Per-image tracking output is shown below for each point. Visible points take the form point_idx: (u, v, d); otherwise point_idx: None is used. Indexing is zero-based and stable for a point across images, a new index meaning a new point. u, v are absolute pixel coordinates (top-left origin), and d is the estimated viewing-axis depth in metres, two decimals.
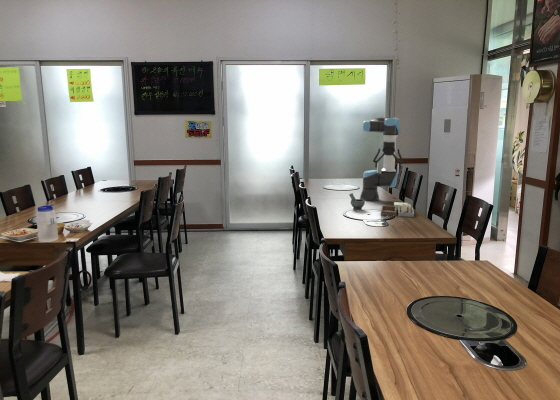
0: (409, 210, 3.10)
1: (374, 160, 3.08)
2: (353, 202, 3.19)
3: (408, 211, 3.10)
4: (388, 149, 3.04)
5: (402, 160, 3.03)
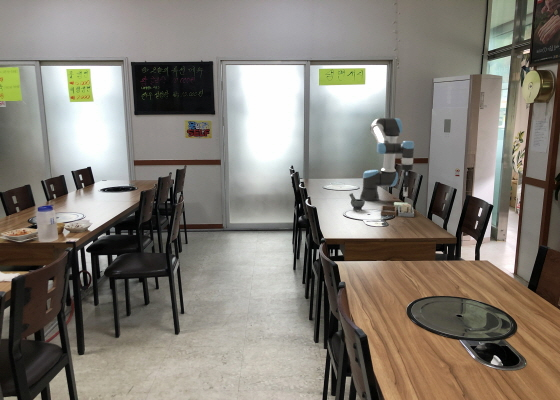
0: (409, 210, 3.10)
1: None
2: (353, 202, 3.19)
3: (408, 211, 3.10)
4: None
5: (404, 183, 3.01)
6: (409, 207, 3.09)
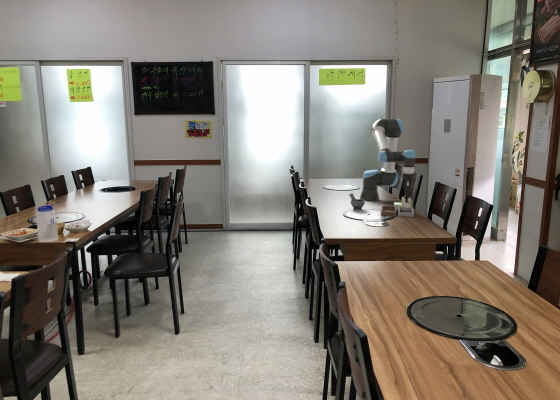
0: (409, 203, 3.09)
1: None
2: (353, 202, 3.19)
3: (408, 204, 3.09)
4: (406, 180, 3.10)
5: (405, 195, 3.05)
6: (409, 200, 3.09)
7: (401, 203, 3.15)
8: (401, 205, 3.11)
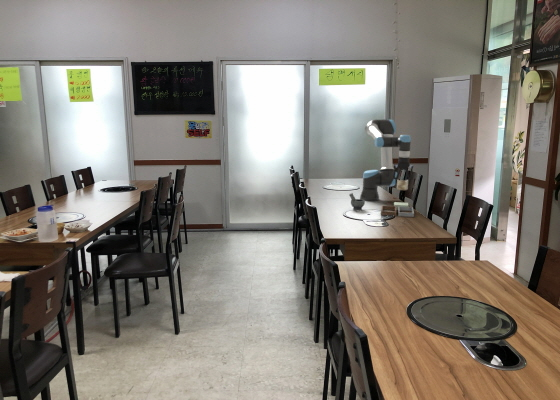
0: None
1: (394, 177, 3.25)
2: (353, 202, 3.19)
3: None
4: (403, 164, 3.22)
5: (412, 177, 3.22)
6: None
7: (400, 187, 3.24)
8: (405, 188, 3.23)
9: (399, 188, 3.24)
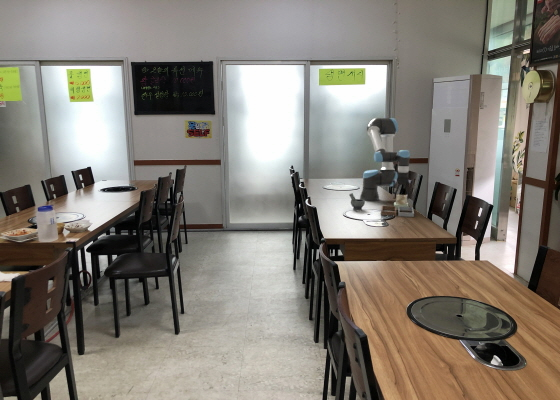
0: None
1: (393, 191, 3.27)
2: (353, 202, 3.19)
3: None
4: (402, 179, 3.24)
5: (411, 192, 3.24)
6: (405, 196, 3.29)
7: (399, 202, 3.26)
8: (405, 203, 3.25)
9: (398, 203, 3.26)
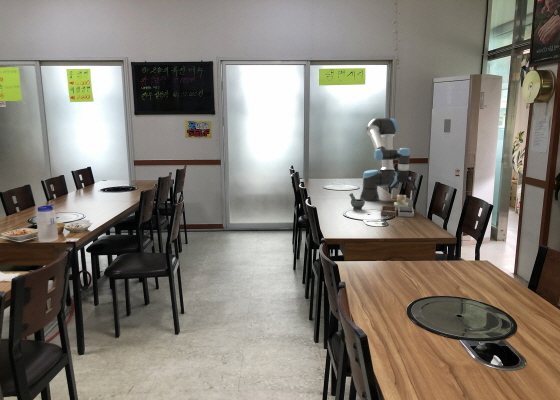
0: None
1: (389, 187, 3.28)
2: (353, 202, 3.19)
3: None
4: (402, 177, 3.24)
5: (415, 187, 3.23)
6: (405, 196, 3.29)
7: (399, 202, 3.26)
8: (405, 203, 3.25)
9: (398, 203, 3.26)
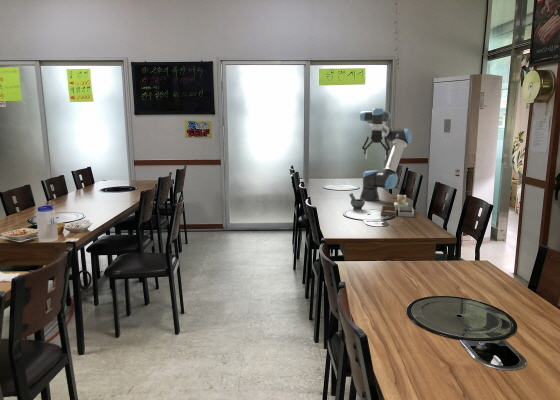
0: None
1: (363, 147, 3.33)
2: (353, 202, 3.19)
3: None
4: (376, 137, 3.29)
5: (389, 147, 3.28)
6: (405, 196, 3.29)
7: (399, 202, 3.26)
8: (405, 203, 3.25)
9: (398, 203, 3.26)
